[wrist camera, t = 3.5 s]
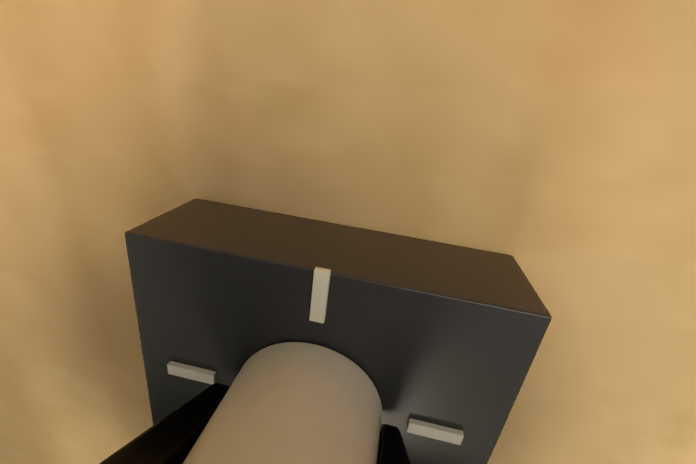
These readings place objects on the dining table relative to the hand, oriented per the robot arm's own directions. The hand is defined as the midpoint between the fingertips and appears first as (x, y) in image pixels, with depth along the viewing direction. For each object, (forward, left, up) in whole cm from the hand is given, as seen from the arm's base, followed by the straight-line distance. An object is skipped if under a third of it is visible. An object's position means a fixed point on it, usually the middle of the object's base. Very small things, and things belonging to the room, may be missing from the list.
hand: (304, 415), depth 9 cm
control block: (0, 0, -4) cm, 4 cm away
